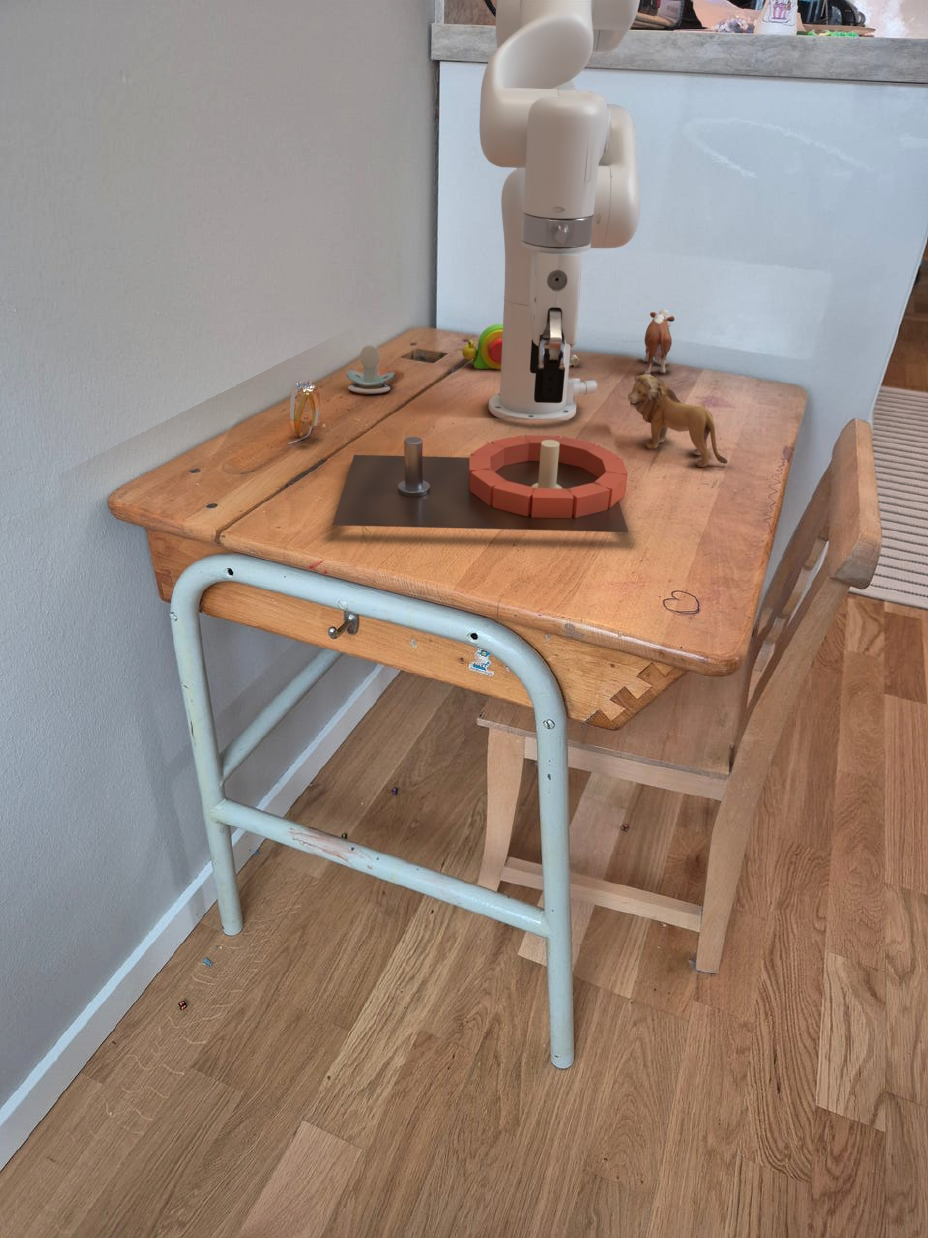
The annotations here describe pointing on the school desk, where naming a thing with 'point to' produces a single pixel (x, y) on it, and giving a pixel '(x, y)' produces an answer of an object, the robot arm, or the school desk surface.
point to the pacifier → (369, 374)
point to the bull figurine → (658, 339)
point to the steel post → (413, 469)
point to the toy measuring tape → (492, 349)
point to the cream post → (548, 465)
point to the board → (454, 497)
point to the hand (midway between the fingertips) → (545, 386)
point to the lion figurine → (673, 416)
